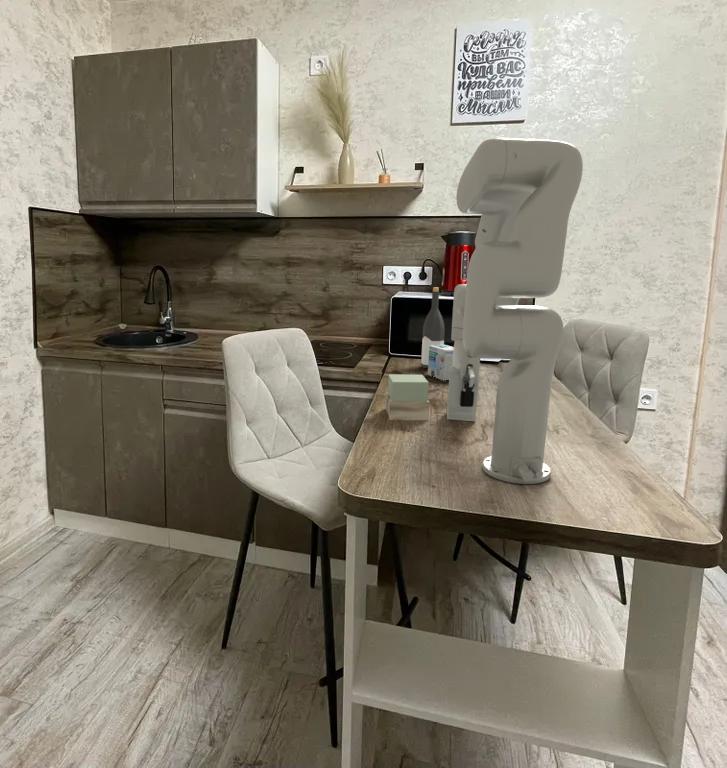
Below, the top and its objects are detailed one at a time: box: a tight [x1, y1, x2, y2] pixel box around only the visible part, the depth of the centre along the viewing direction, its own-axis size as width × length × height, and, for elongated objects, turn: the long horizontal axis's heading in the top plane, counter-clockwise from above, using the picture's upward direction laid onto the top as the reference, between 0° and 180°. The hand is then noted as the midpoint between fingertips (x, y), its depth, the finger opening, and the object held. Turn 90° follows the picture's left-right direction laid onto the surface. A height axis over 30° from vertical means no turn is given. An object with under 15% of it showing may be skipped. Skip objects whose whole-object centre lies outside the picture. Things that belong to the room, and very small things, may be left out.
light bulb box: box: [427, 344, 454, 382], centre depth 179 cm, size 11×7×11 cm, turn 25°
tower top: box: [387, 373, 430, 402], centre depth 134 cm, size 9×9×5 cm
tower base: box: [385, 391, 430, 421], centre depth 135 cm, size 10×10×5 cm
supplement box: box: [446, 367, 480, 422], centre depth 133 cm, size 7×7×13 cm
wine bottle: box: [420, 286, 446, 369], centre depth 193 cm, size 8×8×30 cm
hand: (462, 401), depth 134 cm, fingers closed on supplement box, 8 cm apart
